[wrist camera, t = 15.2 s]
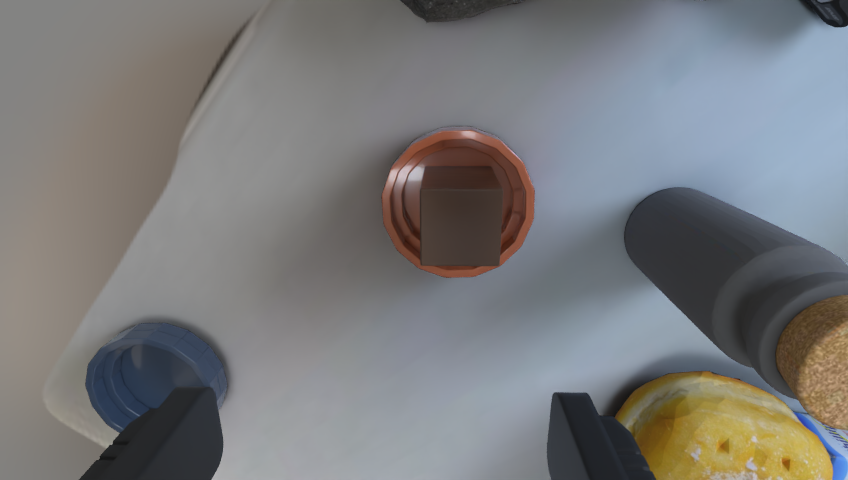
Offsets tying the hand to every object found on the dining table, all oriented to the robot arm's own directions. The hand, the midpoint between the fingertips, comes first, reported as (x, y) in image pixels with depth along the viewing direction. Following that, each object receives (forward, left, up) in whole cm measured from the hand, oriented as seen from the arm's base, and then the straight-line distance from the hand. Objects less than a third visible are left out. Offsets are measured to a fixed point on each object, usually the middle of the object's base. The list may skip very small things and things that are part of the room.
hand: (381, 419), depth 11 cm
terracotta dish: (+2, +1, -20) cm, 20 cm away
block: (+2, +1, -19) cm, 19 cm away
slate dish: (-13, -18, -20) cm, 30 cm away
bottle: (+15, +4, -20) cm, 25 cm away
